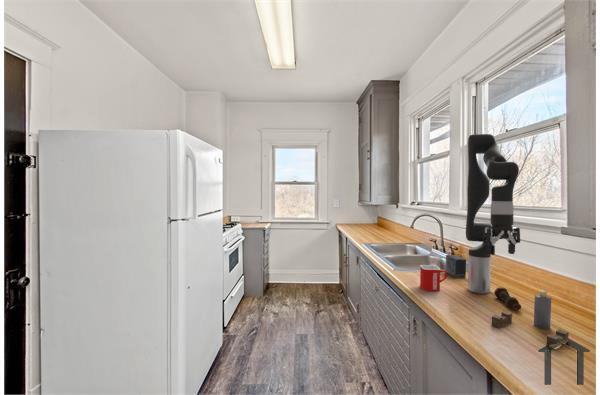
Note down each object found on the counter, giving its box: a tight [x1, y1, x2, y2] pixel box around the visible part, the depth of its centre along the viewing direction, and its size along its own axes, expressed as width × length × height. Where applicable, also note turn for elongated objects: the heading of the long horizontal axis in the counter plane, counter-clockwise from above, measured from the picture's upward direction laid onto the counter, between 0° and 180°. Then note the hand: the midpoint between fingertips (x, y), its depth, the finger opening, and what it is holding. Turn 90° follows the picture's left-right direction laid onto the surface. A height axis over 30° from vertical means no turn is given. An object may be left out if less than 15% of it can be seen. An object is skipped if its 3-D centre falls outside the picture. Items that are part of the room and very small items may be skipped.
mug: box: [419, 264, 448, 292], centre depth 153 cm, size 12×8×11 cm
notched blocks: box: [491, 310, 570, 346], centre depth 108 cm, size 9×20×4 cm, turn 30°
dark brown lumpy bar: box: [493, 287, 522, 311], centre depth 133 cm, size 6×5×15 cm
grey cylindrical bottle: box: [533, 290, 552, 331], centre depth 113 cm, size 5×5×13 cm
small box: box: [445, 254, 467, 279], centre depth 175 cm, size 11×6×10 cm, turn 4°
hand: (501, 254), depth 122 cm, fingers open, 8 cm apart
